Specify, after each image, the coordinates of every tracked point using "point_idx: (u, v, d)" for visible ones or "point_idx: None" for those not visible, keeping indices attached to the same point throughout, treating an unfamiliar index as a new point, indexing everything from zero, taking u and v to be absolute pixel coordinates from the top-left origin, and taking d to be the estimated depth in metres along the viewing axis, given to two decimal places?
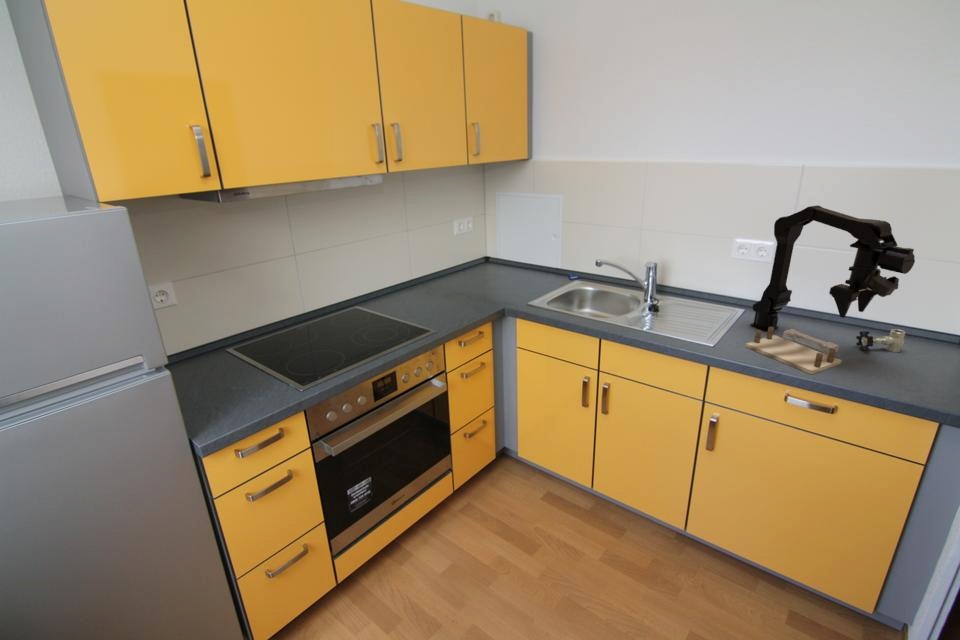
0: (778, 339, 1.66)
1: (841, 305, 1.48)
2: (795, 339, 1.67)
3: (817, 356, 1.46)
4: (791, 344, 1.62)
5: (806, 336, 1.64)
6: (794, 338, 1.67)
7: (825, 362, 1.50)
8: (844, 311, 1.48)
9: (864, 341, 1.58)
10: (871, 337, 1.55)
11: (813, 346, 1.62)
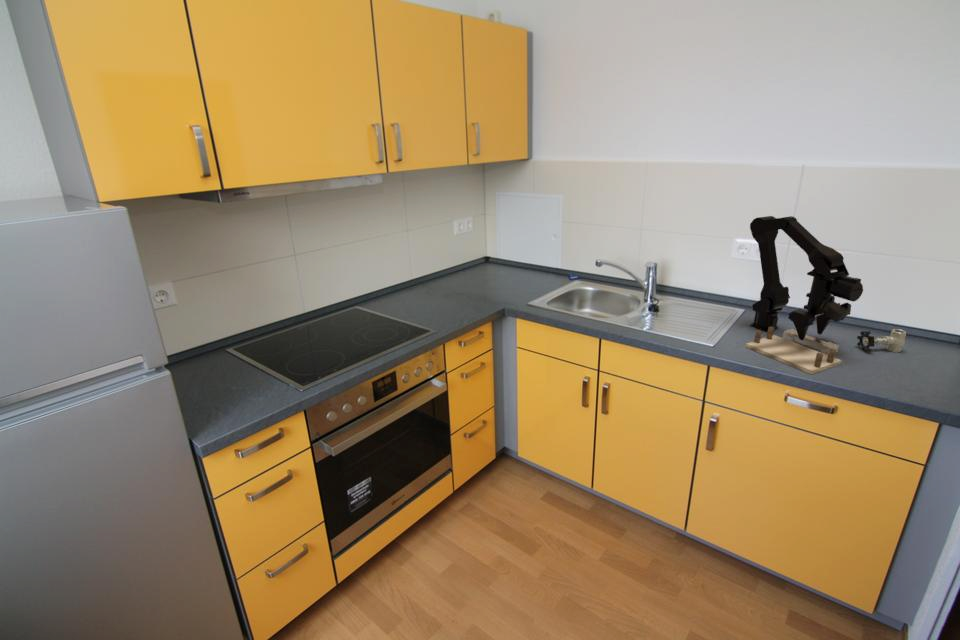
0: (778, 339, 1.66)
1: (800, 329, 1.60)
2: (795, 339, 1.67)
3: (817, 356, 1.46)
4: (791, 344, 1.62)
5: (806, 336, 1.64)
6: (794, 338, 1.67)
7: (825, 362, 1.50)
8: (802, 334, 1.60)
9: (865, 341, 1.57)
10: (872, 337, 1.55)
11: (813, 346, 1.62)
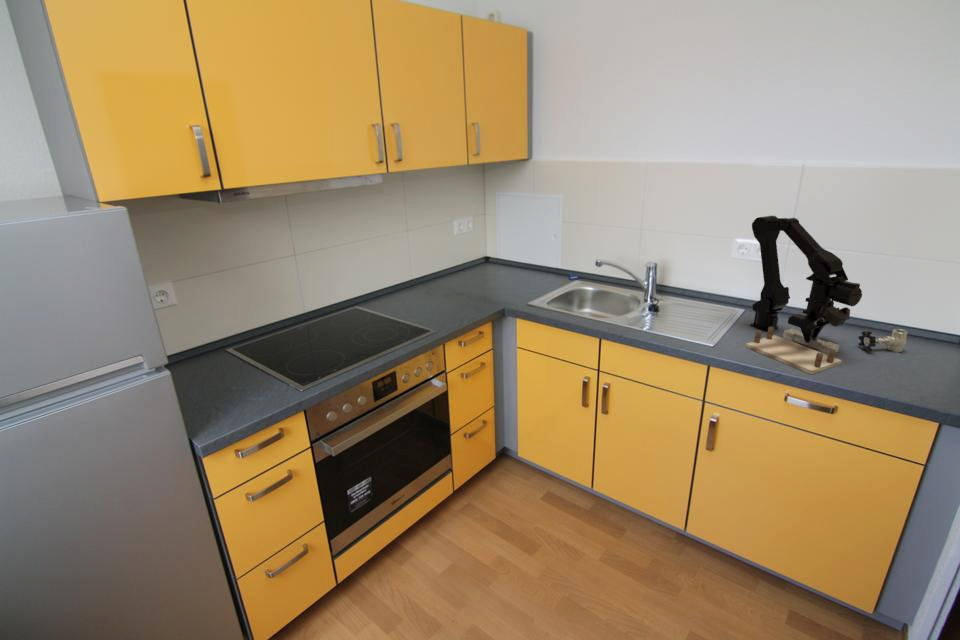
0: (778, 339, 1.66)
1: (805, 331, 1.62)
2: (795, 339, 1.67)
3: (817, 356, 1.46)
4: (791, 344, 1.62)
5: None
6: (794, 338, 1.67)
7: (825, 362, 1.50)
8: (808, 337, 1.61)
9: (866, 341, 1.57)
10: (873, 337, 1.55)
11: (813, 346, 1.62)
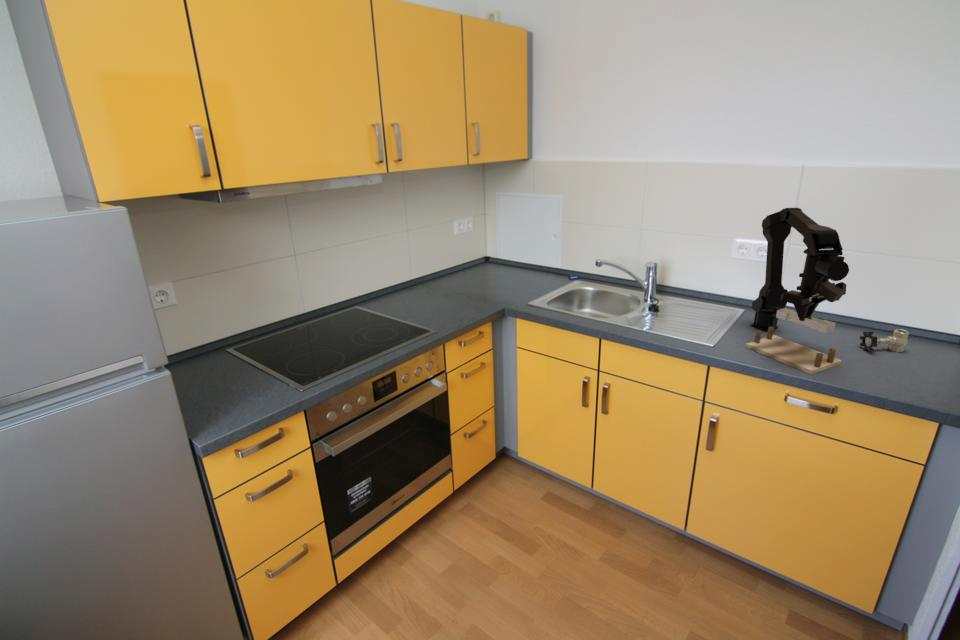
0: (778, 339, 1.66)
1: (800, 309, 1.53)
2: (789, 318, 1.58)
3: (817, 356, 1.46)
4: (791, 344, 1.62)
5: None
6: (788, 317, 1.58)
7: (825, 362, 1.50)
8: (803, 315, 1.53)
9: (868, 341, 1.57)
10: (875, 337, 1.55)
11: (808, 325, 1.53)
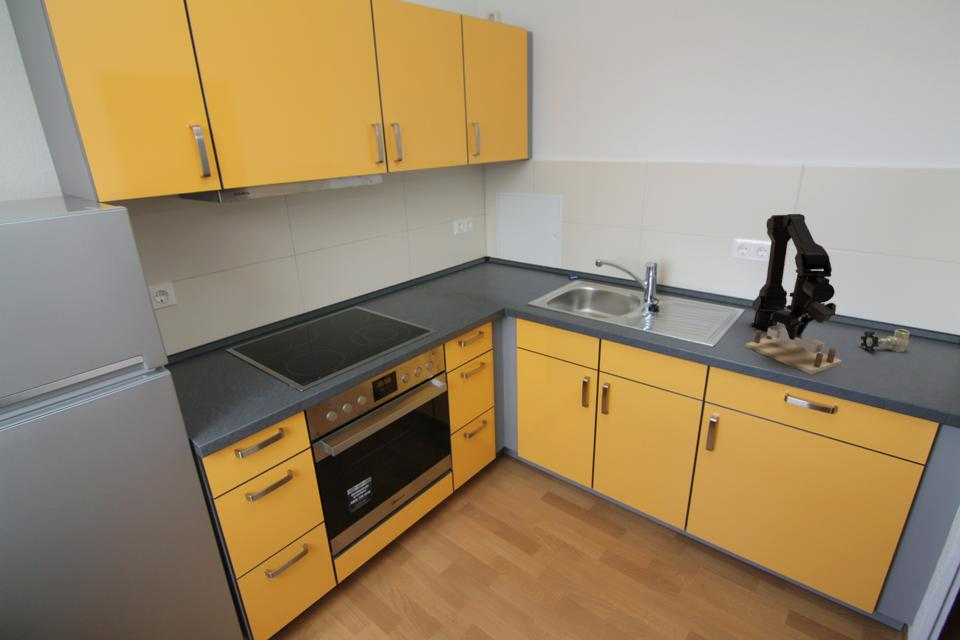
0: (778, 339, 1.66)
1: (790, 328, 1.54)
2: (780, 336, 1.59)
3: (817, 356, 1.46)
4: (791, 344, 1.62)
5: None
6: (779, 335, 1.59)
7: (825, 362, 1.50)
8: (792, 334, 1.53)
9: (869, 341, 1.57)
10: (876, 337, 1.55)
11: (798, 344, 1.53)
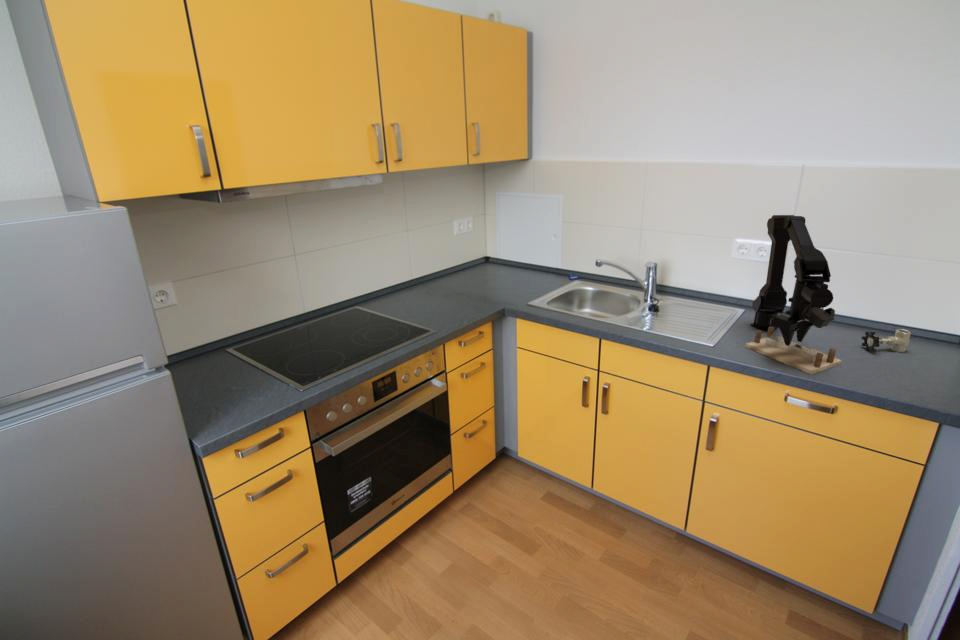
0: None
1: (785, 334, 1.54)
2: (778, 345, 1.60)
3: (817, 356, 1.46)
4: None
5: None
6: (777, 344, 1.60)
7: (825, 362, 1.50)
8: (788, 339, 1.53)
9: (870, 341, 1.57)
10: (877, 337, 1.55)
11: (796, 353, 1.55)
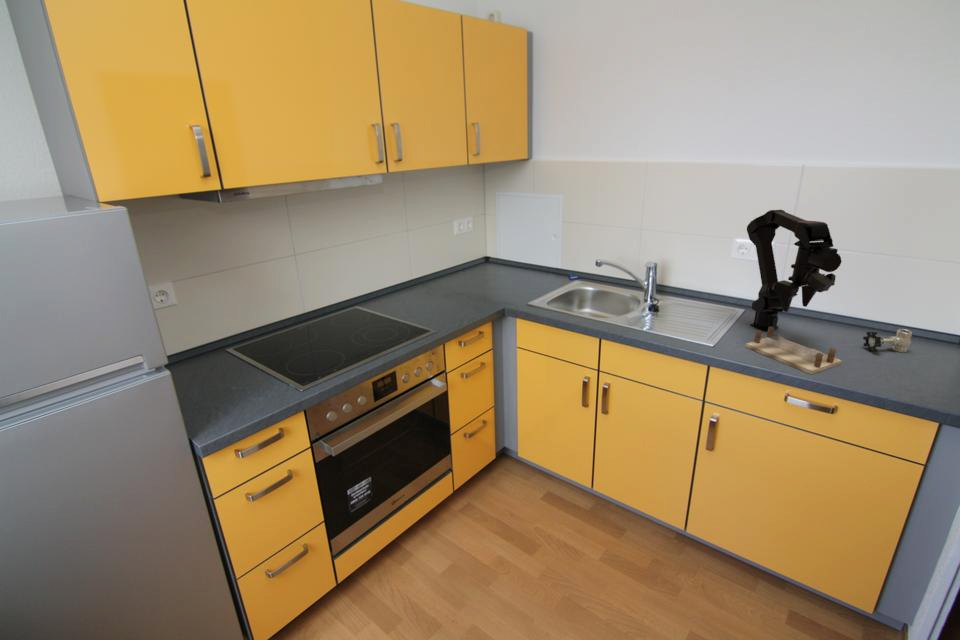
0: None
1: (784, 300, 1.59)
2: (778, 345, 1.60)
3: (817, 356, 1.46)
4: None
5: (789, 342, 1.57)
6: (777, 344, 1.60)
7: (825, 362, 1.50)
8: (786, 306, 1.59)
9: (872, 342, 1.57)
10: (879, 338, 1.54)
11: (796, 353, 1.55)
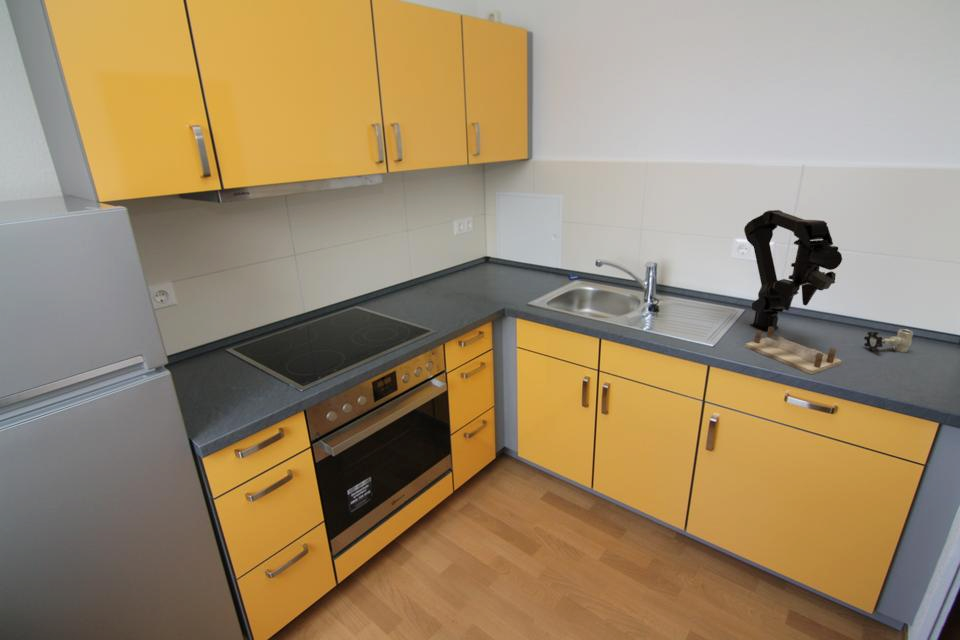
0: None
1: (785, 299, 1.59)
2: (778, 345, 1.60)
3: (817, 356, 1.46)
4: None
5: (789, 342, 1.57)
6: (777, 344, 1.60)
7: (825, 362, 1.50)
8: (787, 304, 1.59)
9: (873, 342, 1.57)
10: (880, 338, 1.54)
11: (796, 353, 1.55)
